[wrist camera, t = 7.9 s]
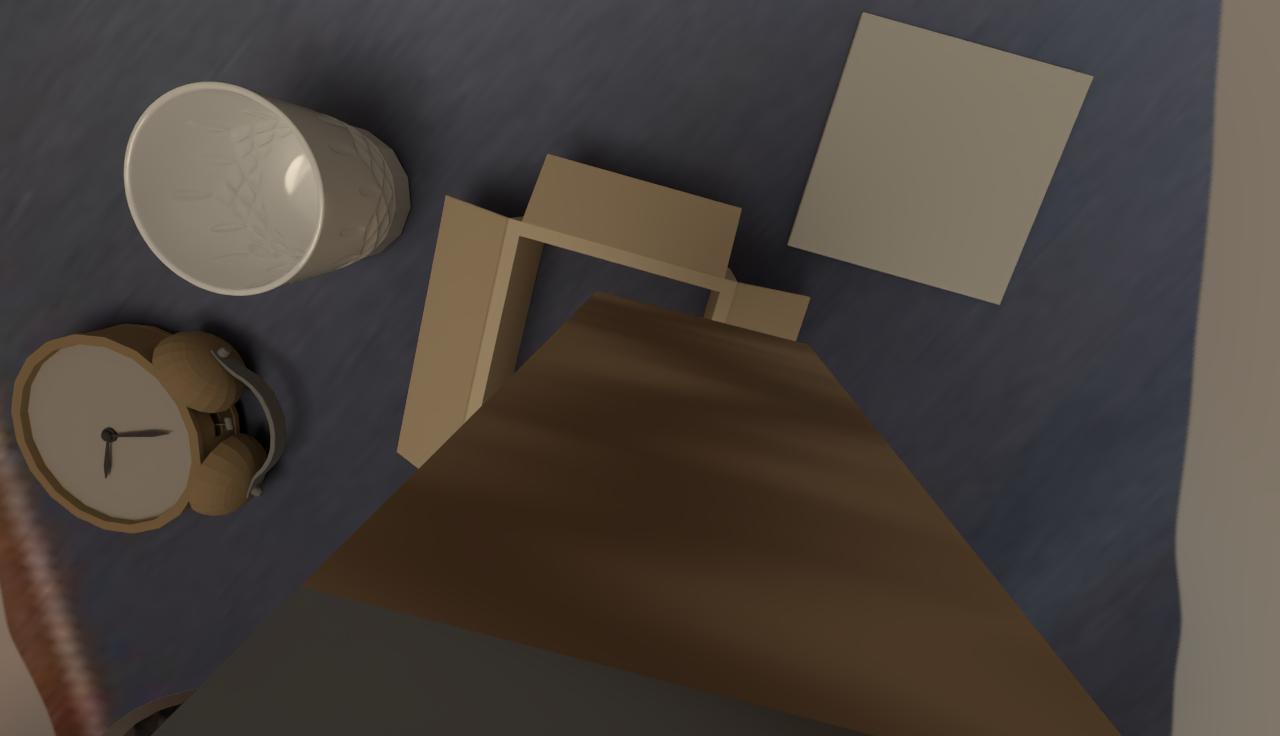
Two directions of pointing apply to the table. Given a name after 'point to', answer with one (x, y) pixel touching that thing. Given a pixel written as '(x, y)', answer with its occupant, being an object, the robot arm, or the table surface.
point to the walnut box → (652, 570)
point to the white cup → (258, 189)
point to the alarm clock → (142, 425)
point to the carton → (507, 268)
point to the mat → (936, 157)
